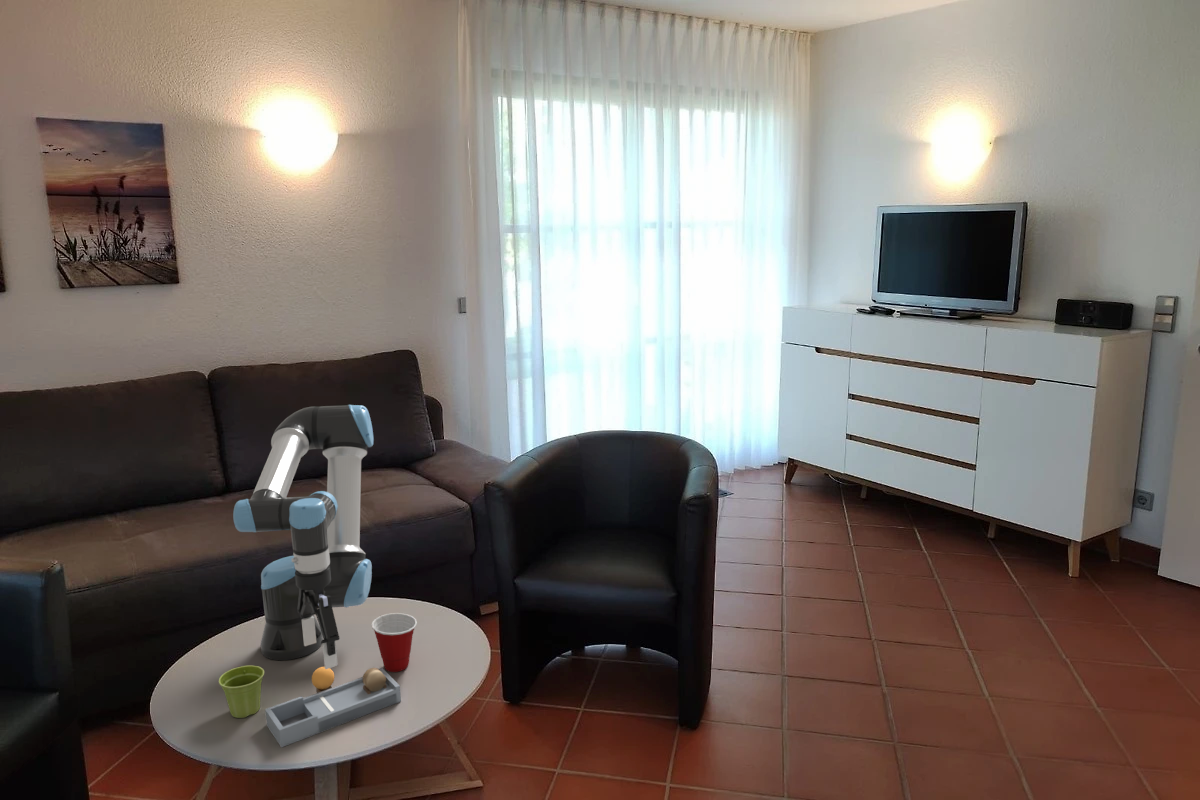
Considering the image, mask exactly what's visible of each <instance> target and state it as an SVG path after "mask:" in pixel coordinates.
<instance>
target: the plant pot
mask: <svg viewBox="0 0 1200 800" xmlns="http://www.w3.org/2000/svg"><path fill="white" fill-rule="evenodd" d="M264 675H265V669H264V668H262V667H261V666H257V665H242V666H238V667H235V668H231V669H229V670H227V671H225V672H223V674H221V675H220V677H219V678H218V685H219V686H220V687H221V688H222V690H223V691H224V695H225V698H226V702H227V705H228V709H229V712H230V715H231V716H232V717H234V718H238V719H242V718H247V717H249V716H251V715H255V714H257V712H258V711H259V710H260V708H261V693H262V691H261V689H262V682H263V678H264Z"/></svg>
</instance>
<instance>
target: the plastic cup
mask: <svg viewBox="0 0 1200 800" xmlns="http://www.w3.org/2000/svg"><path fill="white" fill-rule="evenodd" d="M417 625H418V622H417V618H415V617H414V616H413V615H411V614H407V613H403V612H402V613H401V612H393V613H385V614H382V615H380V616H377V617H376V618H374V619H373V621H372V622H371V626H372V630H373V632H374V635H375V638H376V642H377V645H378V649H379V653H380V657H381V659H382V663H383V667H384V670H385V671H386V672H390V673H398V672H402V671H404V670H406V669H407V668H408V667H409V664H410V656H411V655H410V654H411V652H412V651H411V650H412V643H413V642H412V641H413V634H414V631H415V628H416V626H417Z"/></svg>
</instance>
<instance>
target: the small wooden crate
mask: <svg viewBox="0 0 1200 800" xmlns="http://www.w3.org/2000/svg"><path fill="white" fill-rule="evenodd" d="M330 688H333V687H332V685H331V686H330V687H328V688H326V689H318V688H316V687H315V691H316V693H319V692H322V691H325V690H327V689H330ZM316 693H315V694H316Z"/></svg>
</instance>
